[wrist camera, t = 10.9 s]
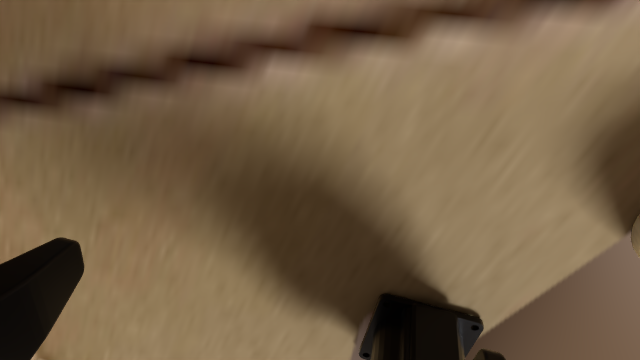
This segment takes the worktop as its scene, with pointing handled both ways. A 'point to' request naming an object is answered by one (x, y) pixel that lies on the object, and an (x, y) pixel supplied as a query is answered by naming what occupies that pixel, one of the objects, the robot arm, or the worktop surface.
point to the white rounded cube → (636, 236)
